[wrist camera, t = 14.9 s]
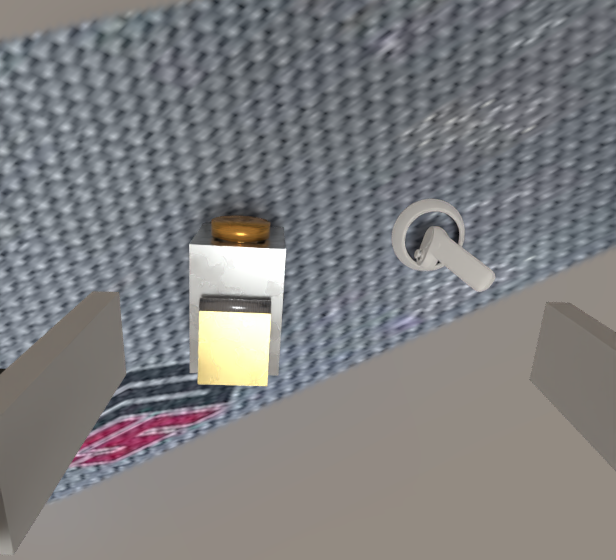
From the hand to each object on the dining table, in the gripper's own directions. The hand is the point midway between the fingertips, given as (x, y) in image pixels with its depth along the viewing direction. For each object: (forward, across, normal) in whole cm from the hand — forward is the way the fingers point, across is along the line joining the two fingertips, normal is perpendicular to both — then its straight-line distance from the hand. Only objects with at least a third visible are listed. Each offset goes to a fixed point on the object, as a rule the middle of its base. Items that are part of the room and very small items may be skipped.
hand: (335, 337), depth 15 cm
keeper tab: (+25, +6, +12) cm, 28 cm away
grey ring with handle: (+35, -14, +4) cm, 38 cm away
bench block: (+34, +6, +10) cm, 36 cm away
